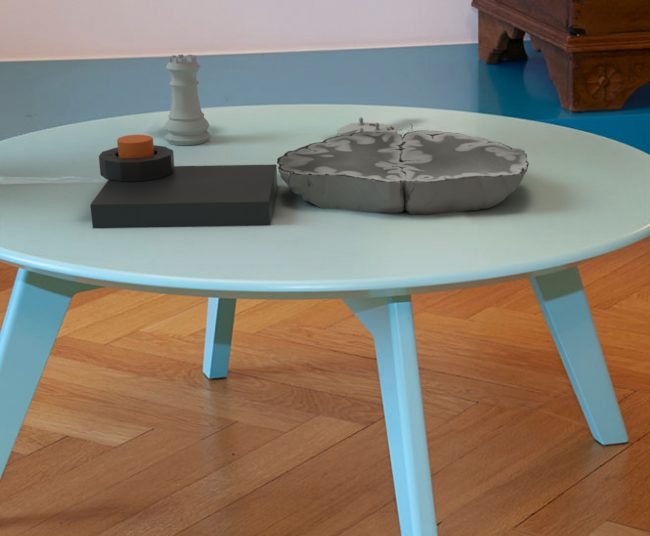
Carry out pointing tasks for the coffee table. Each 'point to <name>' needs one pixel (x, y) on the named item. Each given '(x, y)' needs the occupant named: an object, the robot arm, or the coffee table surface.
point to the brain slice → (404, 172)
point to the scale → (181, 193)
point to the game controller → (366, 128)
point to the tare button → (135, 146)
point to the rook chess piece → (185, 104)
